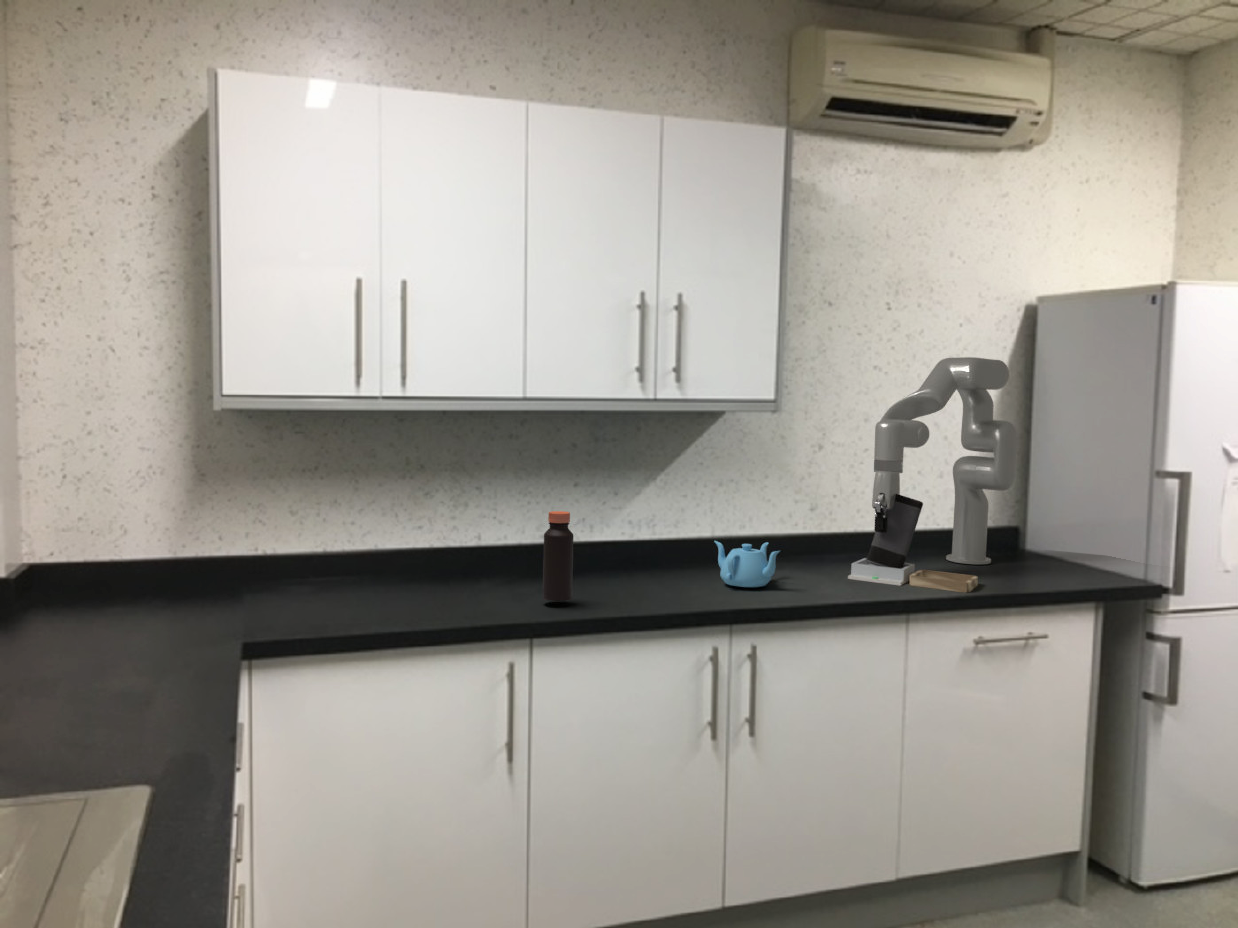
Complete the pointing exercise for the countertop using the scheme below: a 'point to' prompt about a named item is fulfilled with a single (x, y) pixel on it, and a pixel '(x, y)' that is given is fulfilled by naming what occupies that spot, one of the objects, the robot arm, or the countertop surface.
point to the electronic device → (896, 534)
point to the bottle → (558, 558)
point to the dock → (881, 573)
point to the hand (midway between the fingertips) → (886, 529)
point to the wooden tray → (943, 580)
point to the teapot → (746, 565)
